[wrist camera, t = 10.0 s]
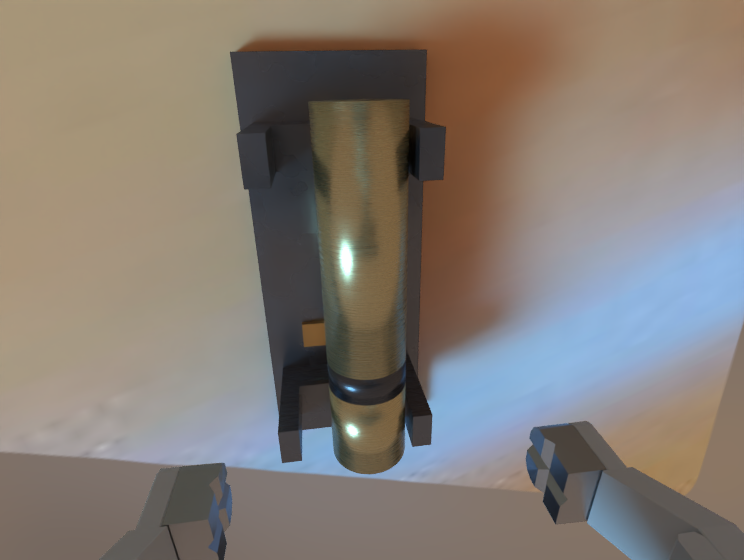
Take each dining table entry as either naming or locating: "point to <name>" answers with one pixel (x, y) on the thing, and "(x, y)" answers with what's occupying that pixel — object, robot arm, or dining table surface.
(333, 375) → the tube
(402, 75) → the stand
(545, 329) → the dining table surface
